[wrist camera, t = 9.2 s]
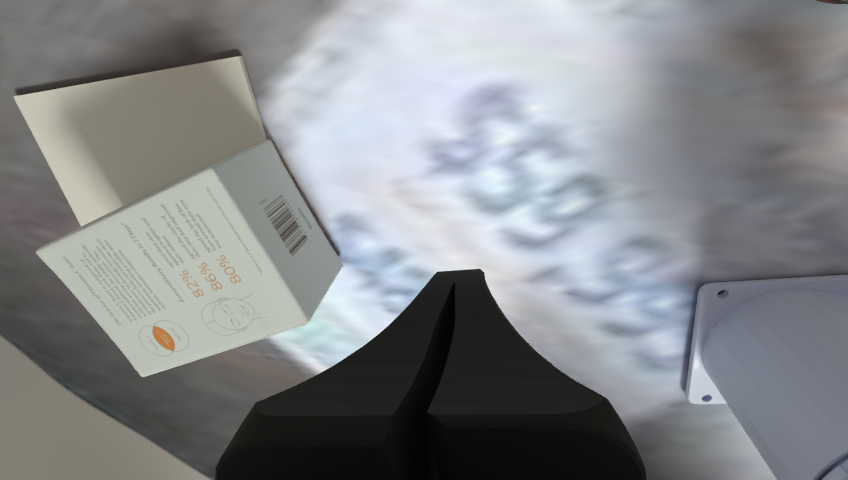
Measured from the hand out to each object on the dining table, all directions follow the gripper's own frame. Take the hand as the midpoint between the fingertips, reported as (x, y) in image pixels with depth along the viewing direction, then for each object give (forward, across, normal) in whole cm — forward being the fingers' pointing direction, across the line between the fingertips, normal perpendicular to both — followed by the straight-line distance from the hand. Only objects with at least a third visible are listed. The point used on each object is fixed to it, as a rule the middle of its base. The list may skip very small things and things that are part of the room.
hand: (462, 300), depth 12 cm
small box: (+7, +8, 0) cm, 11 cm away
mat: (+10, +17, -1) cm, 20 cm away
